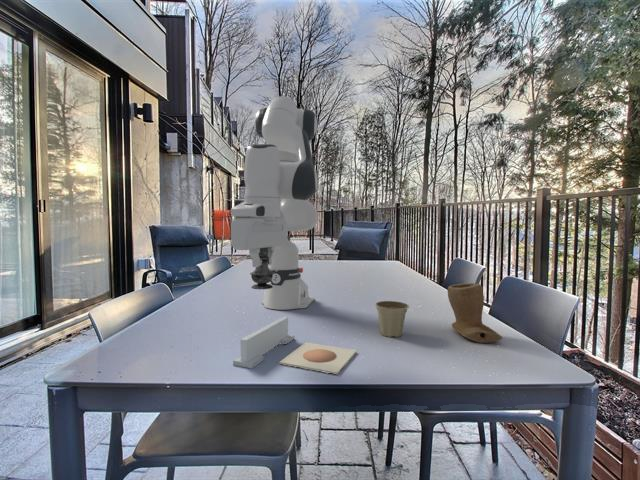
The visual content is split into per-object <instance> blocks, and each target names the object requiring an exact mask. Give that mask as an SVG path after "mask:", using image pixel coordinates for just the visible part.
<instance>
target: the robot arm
mask: <svg viewBox="0 0 640 480" xmlns="http://www.w3.org/2000/svg"><path fill="white" fill-rule="evenodd" d="M253 125H254V129H255V132H256V135H258V137H259V138H261V139H263V140H264V141H265V143H266V144H263V143H259V144H257V143H256V144H253V143H252V144H250V145H248V146H247V147H246V150H245V151H246V152H245V157H244V169H243V180H244V188H245V192H244V195H243V201H242V202H240V203H239V204H237V205H235V206H233V207H231V209H230V216H231V217H232V220H231V223H230V240H231V241H230V243H231V245H232V248H233V250H234V251H238V250H239V251H248V253H249V255H250V258H251V260H252V261H251V263H252V265H251V266H252V267H253V268H256V267H261V266H262V259H260V257H259V254H258V253H260V248H266V247H268V257H269V259H268V267H269V270H270V271H271V272H274V274H273V277H272V280H271V281H270V282H269V283H266V284H270V285H271V286H273V288H270V289H264V291H263V292H264V295H263V299H261V304H262V305H263V306H264V307H265V308H267V309H270V310H280V311H281V310H284V311H285V310H287V311H288V310H295V309H306V308H308V307H309V306H310V305H311V304H312V302H313V301H314V300H315V297H314V296H313V295H312V296H311V295H309V285H308V284H307V283H306V282H305V281H304V280H303V279H302V277H301V275H302V274H301V273H304V268H303V267H299V248H298V246H297V245H296V244H295V243H294V242H293V241H291V240H289V239H288V238H289V237H288V232H303V231H304V232H305V231H310V230H313V228H314V227H315V226H316V225H317V222H318V220H319V213H318V210H317V208H316V206H315V205H314V203H312V202H311V201H310V200H309V199H311V198H312V197H313V196H314V195H315V194H316V192H317V189H318V183H319V179H318V174H317V171H316V169H315V165H314V162H313V156H312V150H311V146H310V141H311V140H313V138H314V137H315V134H316V133H317V130H318V118H317V116H316V113H315V112H314V111H313V110H311V109H307V108H304V109H302V108H298V107H297V105H296V103H295V101H294V100H293V99H292V98H290V97H288V96H284V95H283V96H281V95H280V96H277V97H275V98H273V99H272V100H271V102H270V103H269V104H268V106H267V107H262V108H261V109H259V110H257V112H256V113H255V117H254V123H253ZM281 199H282V200H283V201H281Z"/></svg>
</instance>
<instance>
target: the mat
mask: <svg viewBox="0 0 640 480" xmlns="http://www.w3.org/2000/svg"><path fill="white" fill-rule="evenodd" d="M355 353H356V354H357V350H356V349H349V348H344V347H338V346H331V345H324V344H319V343H312V342H307V341H305V342H304V343H303V344H301V345H300V346H298V347H297V348H296V349H294V350H293V351H292V352H291V353H289V354H288V355H287V356H285V357H284V358H283V359H281V360H280V361H279V365H280V364H283V365H282V366H285V365H288V366H287V367H291V366H294V367H293V368H296V367H301V368H307V369H312V370H319V371H325V372H329V373H334V374H338V372H339V371H340V370H341V369H342V368H343V367H344V366H345V365H346V366H347V365H348V363H349V362H350V361H351V360H352V359H353V358H354V357H355V355H356V354H355ZM354 354H355V355H354ZM351 358H352V359H351ZM350 359H351V360H350ZM349 360H350V361H349ZM346 366H345V367H346ZM345 367H344V368H345ZM301 368H300V369H301ZM344 368H343V369H344ZM343 369H342V370H343ZM312 370H311V371H312ZM342 370H341V371H342ZM341 371H340V372H341ZM338 375H339V374H338Z"/></svg>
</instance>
